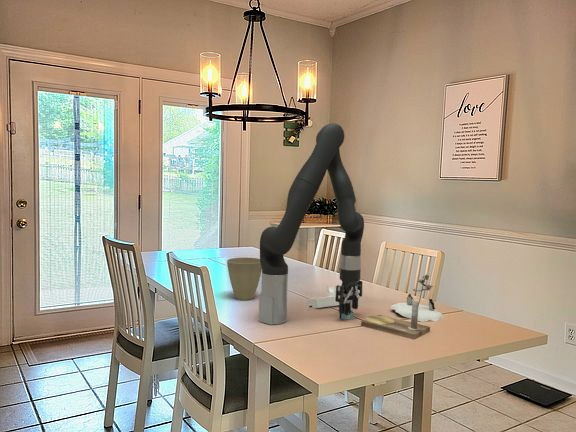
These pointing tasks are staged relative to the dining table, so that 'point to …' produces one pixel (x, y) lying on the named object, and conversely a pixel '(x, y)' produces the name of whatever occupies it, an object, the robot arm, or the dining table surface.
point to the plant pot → (244, 276)
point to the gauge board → (397, 324)
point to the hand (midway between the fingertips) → (348, 310)
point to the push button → (348, 308)
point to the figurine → (419, 306)
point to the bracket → (324, 299)
